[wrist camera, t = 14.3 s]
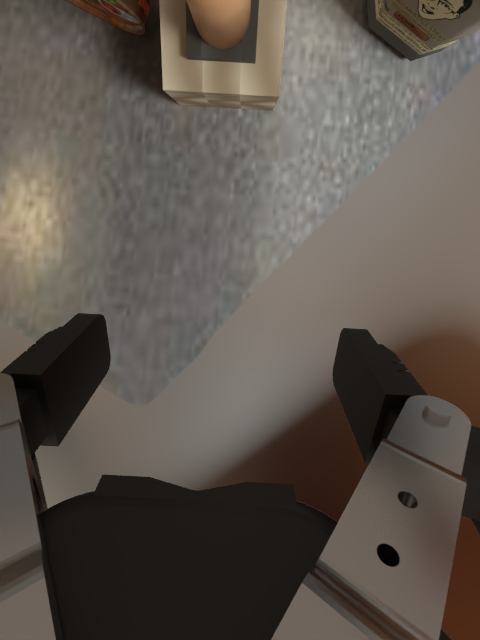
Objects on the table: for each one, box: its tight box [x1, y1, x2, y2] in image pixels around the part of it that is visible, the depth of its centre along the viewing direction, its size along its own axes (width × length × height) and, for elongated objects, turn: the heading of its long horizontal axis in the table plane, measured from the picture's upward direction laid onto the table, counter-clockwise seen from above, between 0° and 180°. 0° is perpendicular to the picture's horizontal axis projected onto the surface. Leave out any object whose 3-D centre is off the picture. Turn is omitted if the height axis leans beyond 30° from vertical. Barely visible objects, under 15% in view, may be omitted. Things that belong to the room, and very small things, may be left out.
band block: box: [159, 0, 287, 110], centre depth 29 cm, size 10×10×9 cm
